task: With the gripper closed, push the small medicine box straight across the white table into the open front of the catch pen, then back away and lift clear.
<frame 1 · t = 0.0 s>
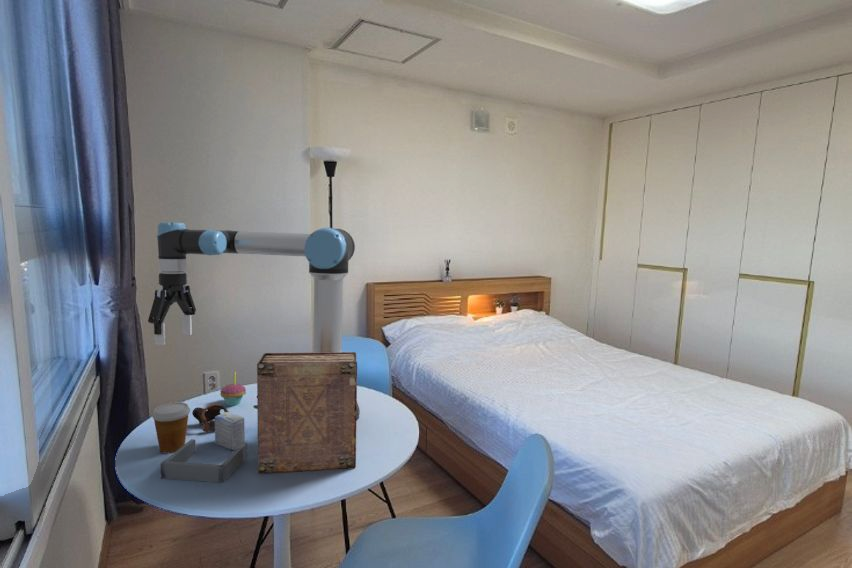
hand: (174, 339, 139), 28 cm above the table, fingers open, 13 cm apart
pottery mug: (211, 427, 142), on the table
cupcake: (233, 404, 160), on the table
medicine box: (230, 445, 130), on the table
disposable coffee cup: (172, 448, 127), on the table
book: (308, 463, 122), on the table
catch pen: (207, 465, 118), on the table
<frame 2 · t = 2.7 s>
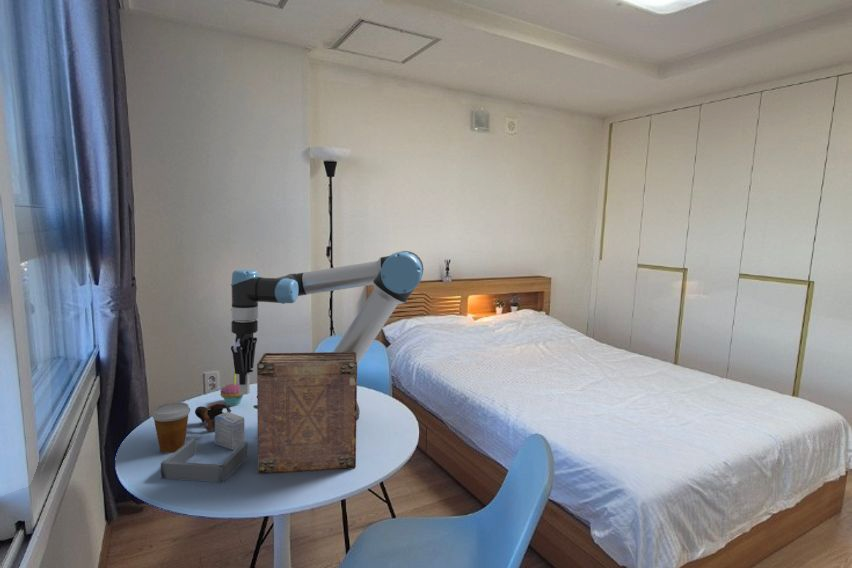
hand: (244, 393, 139), 12 cm above the table, fingers closed
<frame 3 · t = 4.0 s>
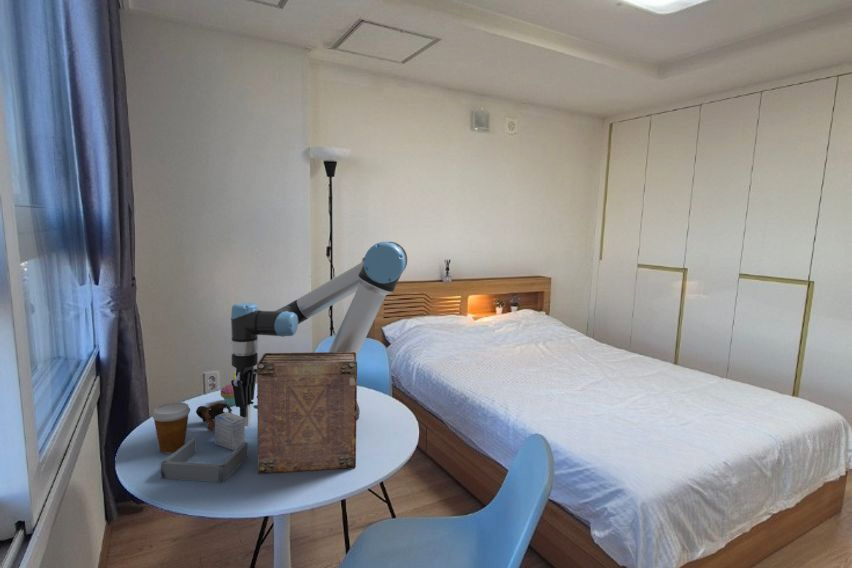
hand: (245, 425, 139), 2 cm above the table, fingers closed
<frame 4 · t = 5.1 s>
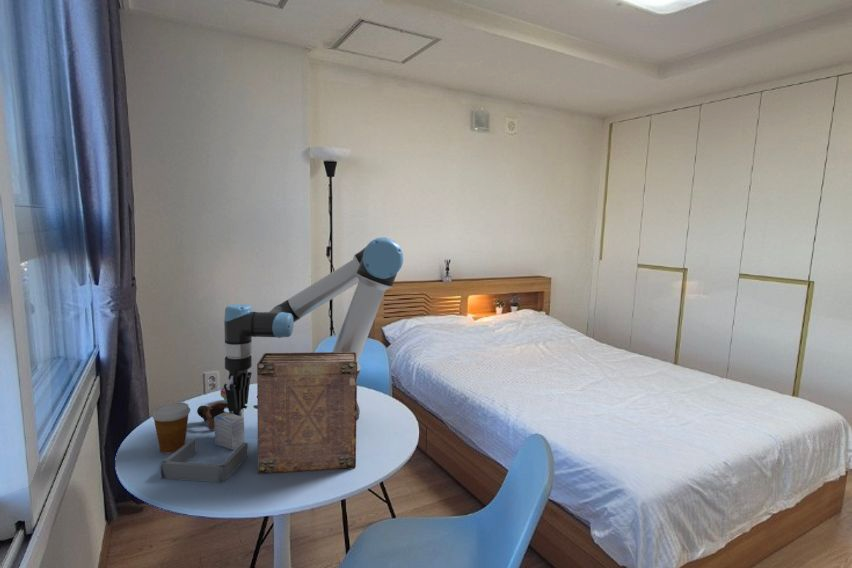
hand: (238, 430, 136), 2 cm above the table, fingers closed
medicine box: (230, 445, 130), on the table, touching gripper
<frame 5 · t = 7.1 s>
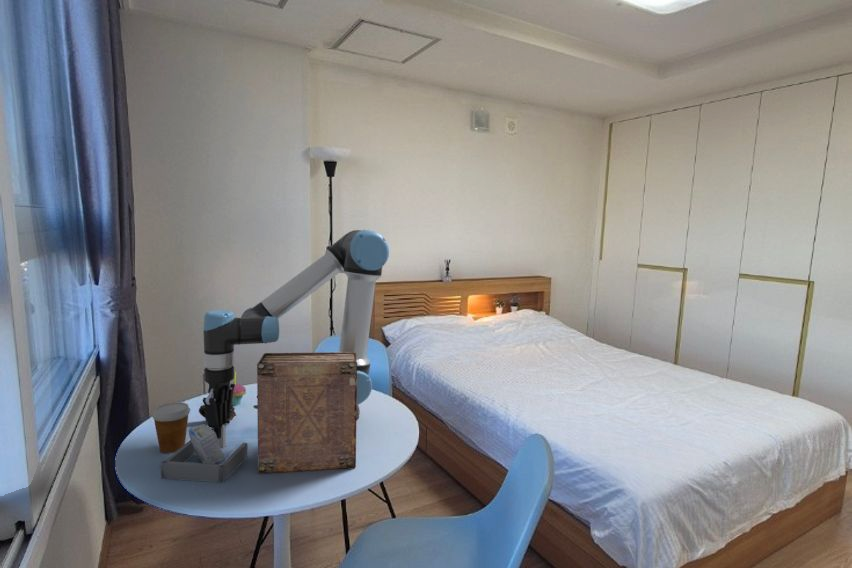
hand: (220, 447, 125), 2 cm above the table, fingers closed
medicine box: (210, 458, 121), on the table, touching gripper, hand
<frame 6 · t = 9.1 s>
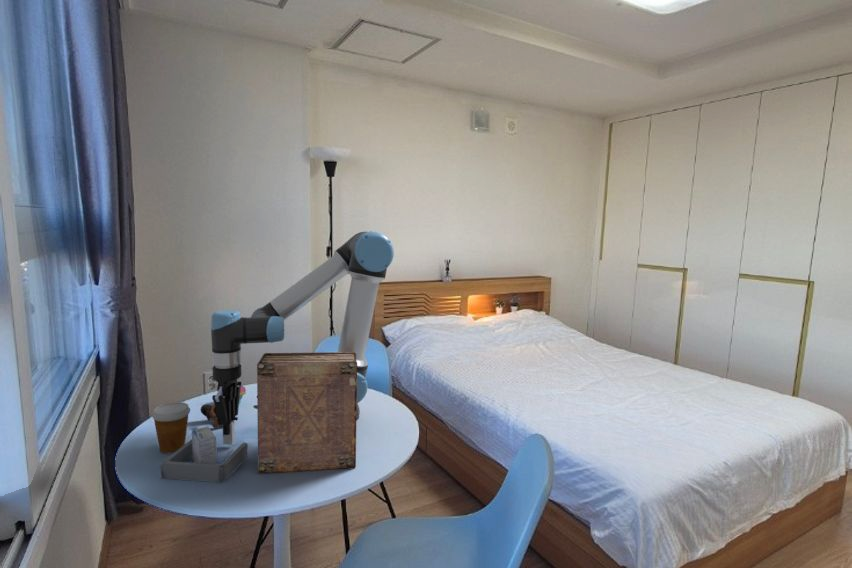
hand: (228, 443, 128), 1 cm above the table, fingers closed
medicine box: (204, 464, 119), on the table
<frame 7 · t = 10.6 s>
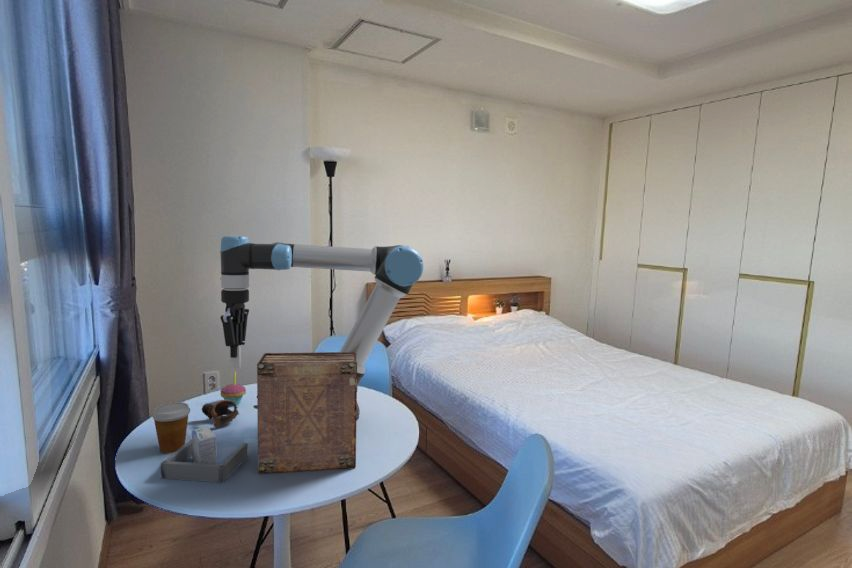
hand: (235, 366, 131), 22 cm above the table, fingers closed
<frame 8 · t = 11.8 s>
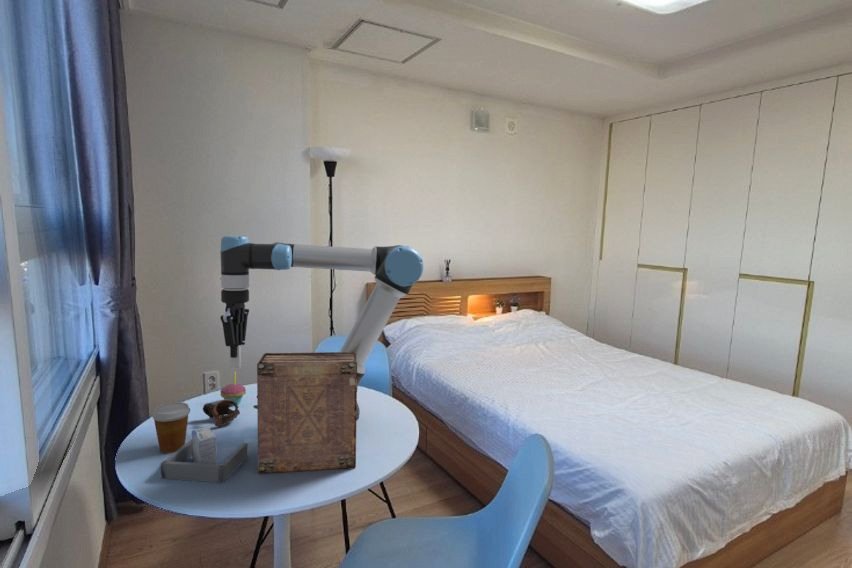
hand: (235, 366, 131), 22 cm above the table, fingers closed
at the end: medicine box inside the target area on the catch pen (2.1 cm from its centre), point 0.0 cm above the catch pen's base; medicine box moved 11.1 cm from its start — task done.
